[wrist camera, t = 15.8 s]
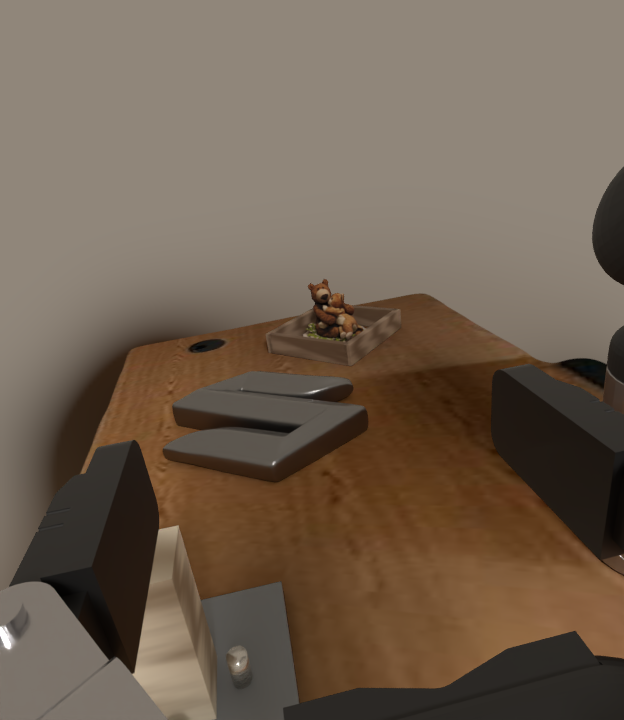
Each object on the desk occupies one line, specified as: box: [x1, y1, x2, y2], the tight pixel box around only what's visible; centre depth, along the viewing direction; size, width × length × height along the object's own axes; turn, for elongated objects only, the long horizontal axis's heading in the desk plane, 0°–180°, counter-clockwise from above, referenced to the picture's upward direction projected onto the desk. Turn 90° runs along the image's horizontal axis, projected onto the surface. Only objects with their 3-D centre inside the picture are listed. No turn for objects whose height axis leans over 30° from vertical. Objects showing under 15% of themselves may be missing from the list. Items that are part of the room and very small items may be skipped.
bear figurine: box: [303, 279, 365, 342], centre depth 99 cm, size 14×15×12 cm
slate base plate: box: [201, 582, 300, 720], centre depth 35 cm, size 16×16×4 cm
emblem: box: [163, 371, 368, 482], centre depth 70 cm, size 28×5×28 cm
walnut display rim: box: [266, 305, 401, 366], centre depth 99 cm, size 20×19×4 cm
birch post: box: [132, 525, 217, 720], centre depth 33 cm, size 5×5×13 cm
